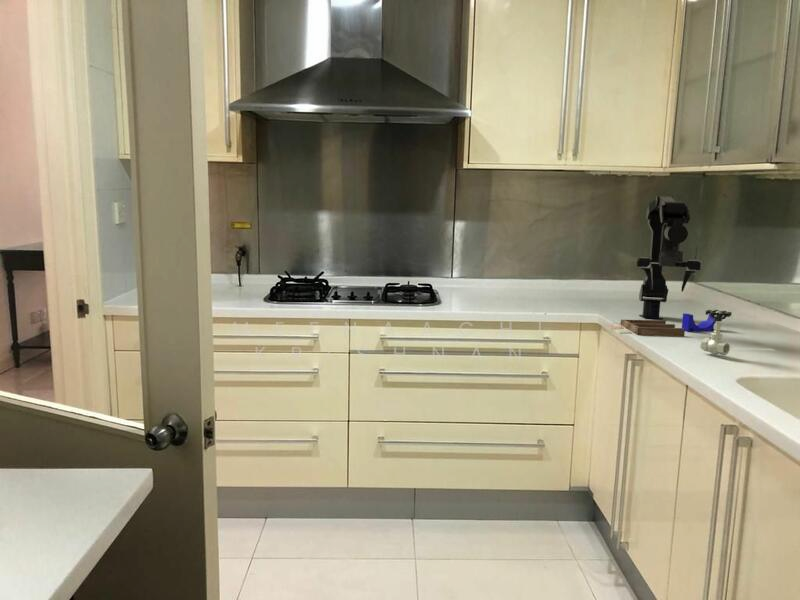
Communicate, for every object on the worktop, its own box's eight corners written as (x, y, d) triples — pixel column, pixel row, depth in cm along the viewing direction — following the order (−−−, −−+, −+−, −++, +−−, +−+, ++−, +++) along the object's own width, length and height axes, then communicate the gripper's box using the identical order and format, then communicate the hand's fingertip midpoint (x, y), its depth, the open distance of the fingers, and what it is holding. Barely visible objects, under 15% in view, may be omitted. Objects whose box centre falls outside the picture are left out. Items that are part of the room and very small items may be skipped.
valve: (710, 350, 187) (714, 309, 185) (732, 355, 181) (737, 312, 179) (696, 352, 183) (700, 310, 182) (718, 357, 178) (722, 314, 176)
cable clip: (708, 329, 221) (709, 311, 220) (717, 331, 216) (719, 314, 216) (678, 330, 217) (679, 312, 216) (687, 333, 213) (689, 315, 212)
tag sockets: (605, 326, 220) (606, 319, 220) (664, 327, 221) (664, 320, 221) (621, 335, 205) (622, 327, 205) (684, 336, 206) (684, 328, 206)
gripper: (636, 241, 203) (632, 290, 206) (702, 244, 195) (697, 295, 197) (640, 239, 213) (637, 287, 215) (703, 242, 205) (698, 291, 207)
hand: (666, 290), depth 209 cm, fingers open, 9 cm apart
